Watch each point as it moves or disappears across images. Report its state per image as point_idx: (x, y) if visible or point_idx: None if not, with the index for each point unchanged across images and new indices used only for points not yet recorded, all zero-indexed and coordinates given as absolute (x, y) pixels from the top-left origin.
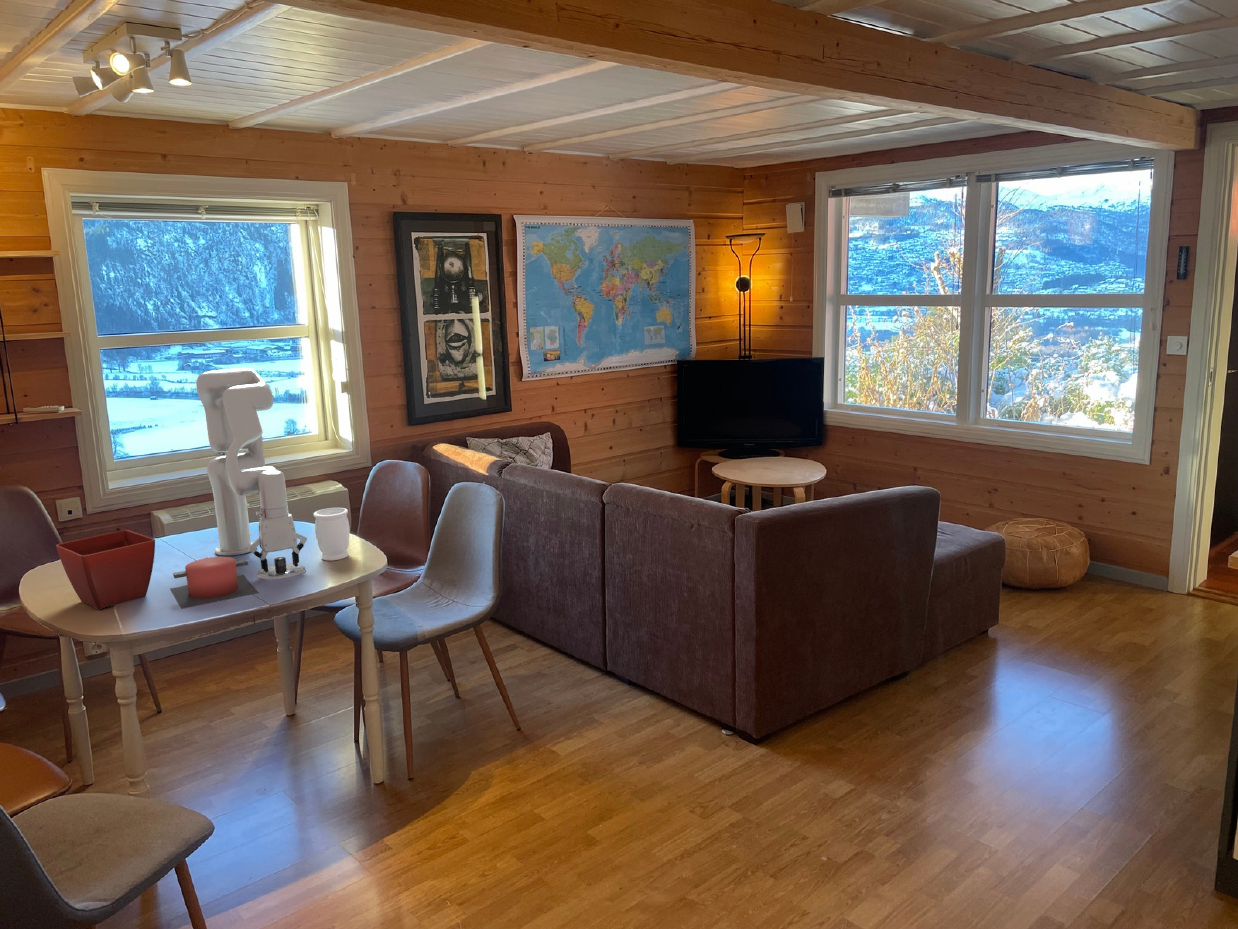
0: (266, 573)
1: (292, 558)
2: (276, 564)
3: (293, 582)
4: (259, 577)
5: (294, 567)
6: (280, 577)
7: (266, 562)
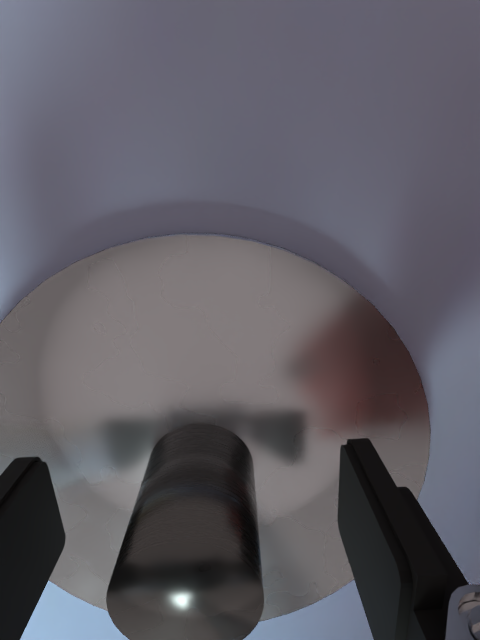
0: (334, 478)
1: (32, 605)
2: (245, 512)
3: (133, 57)
4: (425, 401)
5: (70, 508)
6: (246, 275)
7: (401, 532)
